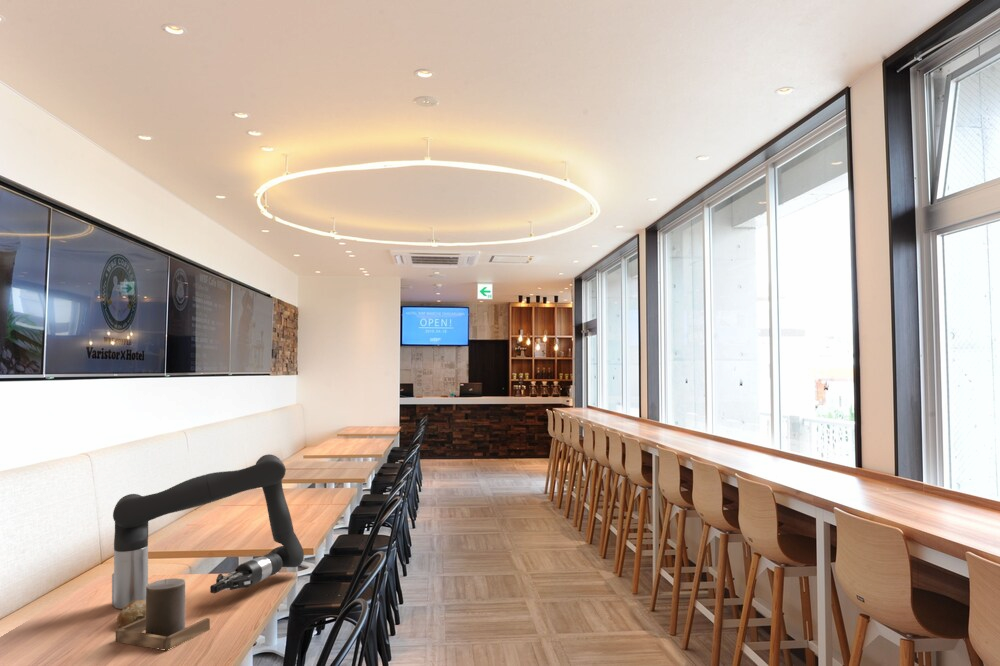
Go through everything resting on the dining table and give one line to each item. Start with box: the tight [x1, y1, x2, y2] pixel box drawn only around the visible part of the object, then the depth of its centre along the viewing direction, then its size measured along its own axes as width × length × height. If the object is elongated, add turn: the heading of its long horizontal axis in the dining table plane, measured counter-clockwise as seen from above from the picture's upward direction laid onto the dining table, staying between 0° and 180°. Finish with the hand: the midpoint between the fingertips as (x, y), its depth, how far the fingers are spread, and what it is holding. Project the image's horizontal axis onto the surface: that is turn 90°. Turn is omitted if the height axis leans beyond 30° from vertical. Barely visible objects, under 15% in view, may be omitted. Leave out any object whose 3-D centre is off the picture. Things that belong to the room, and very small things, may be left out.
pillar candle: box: [144, 577, 186, 637], centre depth 179 cm, size 10×10×15 cm
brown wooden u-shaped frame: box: [115, 617, 211, 651], centre depth 177 cm, size 18×14×3 cm
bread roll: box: [117, 600, 146, 628], centre depth 187 cm, size 10×10×8 cm
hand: (212, 589), depth 194 cm, fingers closed
